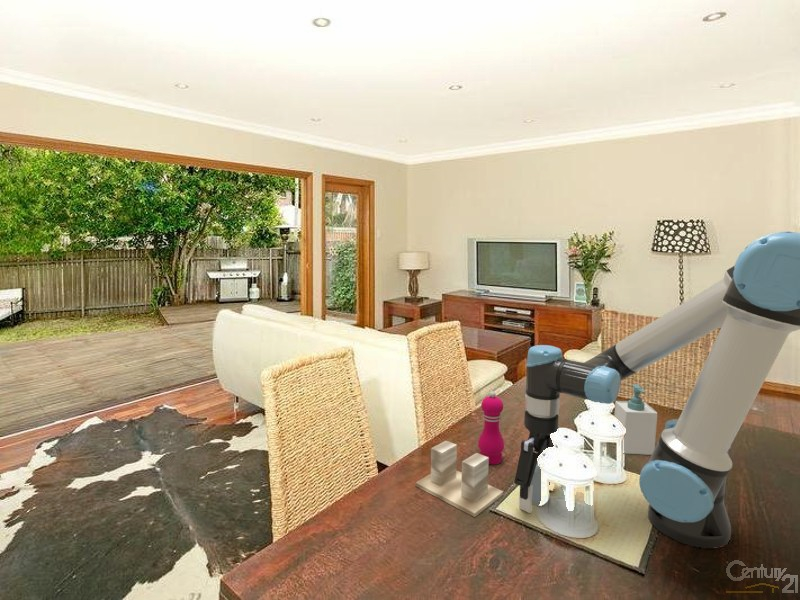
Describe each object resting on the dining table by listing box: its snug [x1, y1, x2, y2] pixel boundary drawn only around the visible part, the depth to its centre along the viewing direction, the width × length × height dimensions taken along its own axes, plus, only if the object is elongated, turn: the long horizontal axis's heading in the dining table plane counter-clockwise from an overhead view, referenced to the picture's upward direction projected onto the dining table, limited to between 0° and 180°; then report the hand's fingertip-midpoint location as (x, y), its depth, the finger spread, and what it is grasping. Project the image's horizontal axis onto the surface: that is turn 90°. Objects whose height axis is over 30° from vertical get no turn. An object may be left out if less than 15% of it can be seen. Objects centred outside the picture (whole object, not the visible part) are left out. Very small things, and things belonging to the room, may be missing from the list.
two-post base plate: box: [415, 440, 504, 518], centre depth 110 cm, size 18×12×10 cm, turn 46°
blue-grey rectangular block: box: [531, 463, 550, 507], centre depth 106 cm, size 4×4×8 cm
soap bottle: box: [614, 383, 658, 456], centre depth 132 cm, size 9×9×19 cm
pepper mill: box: [477, 390, 505, 465], centre depth 125 cm, size 7×7×20 cm
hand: (537, 499), depth 107 cm, fingers open, 11 cm apart
